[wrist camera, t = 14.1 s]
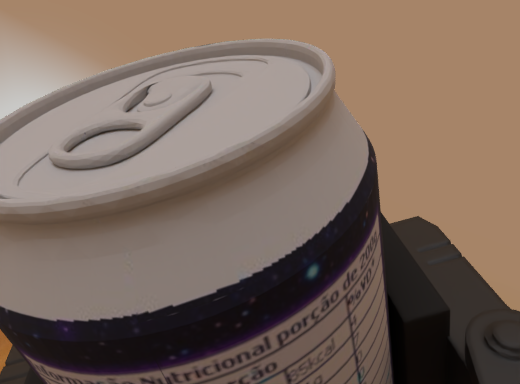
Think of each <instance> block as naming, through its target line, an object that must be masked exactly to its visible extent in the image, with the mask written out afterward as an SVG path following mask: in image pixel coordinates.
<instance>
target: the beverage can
mask: <svg viewBox="0 0 520 384" xmlns="http://www.w3.org/2000/svg"><path fill="white" fill-rule="evenodd" d="M334 89H335V68H334V65H333V62H332V60H331V59H330V57H329V56H328V55H327V54H326V53H325V52H324V51H323V50H320V49H319V48H317V47H315V46H313V45H310V44H307V43H304V42H299V41H294V40H284V39H283V40H282V39H250V40H238V41H227V42H221V43H214V44H208V45H203V46H197V47H191V48H185V49H181V50H177V51H173V52H169V53H165V54H161V55H157V56H153V57H149V58H145V59H142V60H139V61H135V62H132V63H129V64H126V65H123V66H120V67H116V68H113V69H110V70H107V71H104V72H101V73H99V74H96V75H93V76H91V77H88V78H86V79H83V80H81V81H78V82H75V83H72V84H70V85H67V86H65V87H62V88H60V89H58V90H56V91H54V92H52V93H50V94H48V95H45V96H43V97H41V98H39V99H37V100H35V101H33V102H31V103H29V104H27V105H25V106H23V107H21V108H19V109H18V110H16V111H14V112H13V113H11V114H10V115H8V116H6V117H5V118H3V119H1V120H0V329H1V330H2V332H3V333H4V334H5V336H6V337H7V338H8V339H9V341H10V342H11V343H12V344H13V346H14V347H15V348H16V349H17V351H18V352H19V353H20V354H21V356H22V357H23V358H24V360H25V361H26V362H27V363H28V365H29V366H30V367H31V368H32V370H33V371H34V372H35V373H36V375H37V376H38V377H39V378H40V380H41V381H42V382H43V384H395V382H394V370H393V357H392V345H391V333H390V321H389V309H388V296H387V284H386V272H385V260H384V248H383V236H382V223H381V211H380V199H379V189H378V188H379V187H378V175H377V163H376V156H375V152H374V149H373V146H372V144H371V142H370V140H369V139H368V137H367V136H366V134H365V132H364V131H363V130H362V128H361V127H360V125H359V124H358V123H357V121H356V120H355V119H354V117H353V116H352V114H351V113H350V112H349V110H348V109H347V108H346V106H345V105H344V103H343V102H342V101H341V100H340V98H339V96H338V95H337V94H336V92H335V90H334Z"/></svg>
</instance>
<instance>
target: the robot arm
mask: <svg viewBox="0 0 520 384" xmlns="http://www.w3.org/2000/svg"><path fill="white" fill-rule="evenodd" d="M381 223H382V236H383V248H384V260H385V272H386V284H387V296H388V309H389V321H390V333H391V345H392V357H393V370H394V382H395V384H520V312H519V311H516V310H512V309H510V308H509V307H508V306H507V305H506V304H505V303H504V302H503V301H502V300H501V298H500V297H499V296H498V295H497V294H496V293H495V291H494V290H493V289H492V288H491V287H490V286H489V285H488V283H486V281H485V280H484V279H483V278H482V277H481V275H480V274H479V273H478V272H477V271H476V270H475V269H474V268H473V266H471V264H470V263H469V262H468V261H467V260H466V258H465V257H462V255H461V253H460V252H459V251H458V249H457V248H456V247H455V246H454V245H453V244H451V242H450V240H449V239H448V238H447V237H446V236H445V234H444V233H443V232H442V231H441V230H440V229H439V228H438V227H437V226H436V225H434V224H432V223H430V222H428V221H426V220H424V219H422V218H420V217H419V216H417V217H413V218H410V219H406V220H402V221H398V222H394V223H391V224H389V223H388V221H387V220H386V219H385V217H384V216H383V215H382V213H381ZM5 364H6V366H5V367H3V369H2V371H1V374H0V384H43V382H42V381H41V380H40V378H39V377H38V376H37V375H36V373H35V372H34V371H33V370H32V368H31V367H30V366H29V365H28V363H27V362H26V361H25V360H24V358H23V357H22V356H21V354H20V353H19V352H18V351H17V349H16V348H15V347H14V346H13V345H12V348H11V350H10V353H9V355H8V357H7V360H6V362H5Z"/></svg>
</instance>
